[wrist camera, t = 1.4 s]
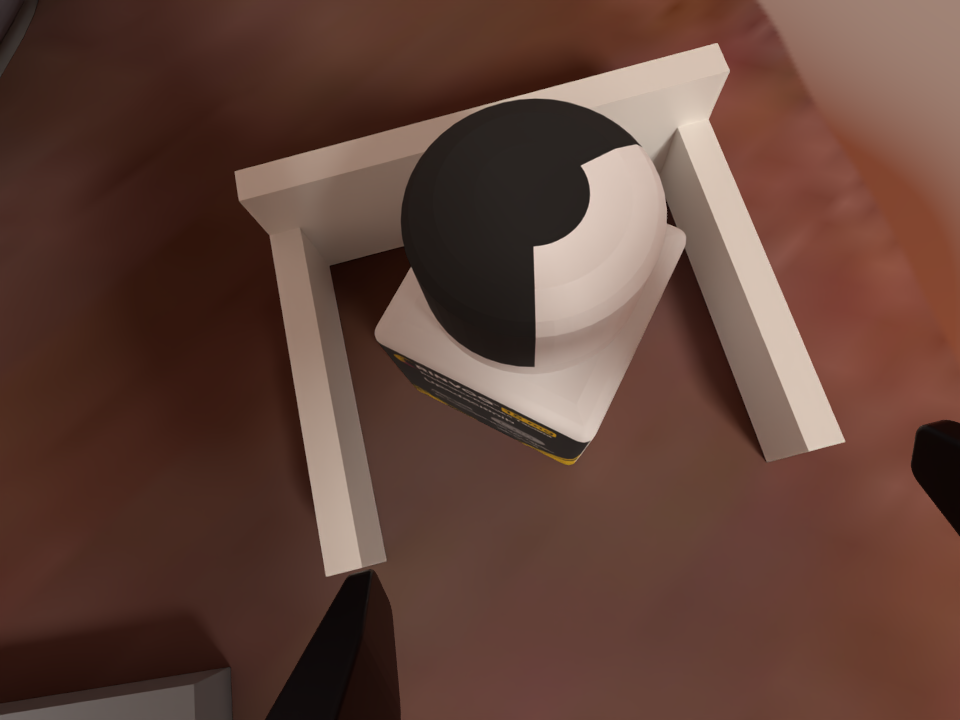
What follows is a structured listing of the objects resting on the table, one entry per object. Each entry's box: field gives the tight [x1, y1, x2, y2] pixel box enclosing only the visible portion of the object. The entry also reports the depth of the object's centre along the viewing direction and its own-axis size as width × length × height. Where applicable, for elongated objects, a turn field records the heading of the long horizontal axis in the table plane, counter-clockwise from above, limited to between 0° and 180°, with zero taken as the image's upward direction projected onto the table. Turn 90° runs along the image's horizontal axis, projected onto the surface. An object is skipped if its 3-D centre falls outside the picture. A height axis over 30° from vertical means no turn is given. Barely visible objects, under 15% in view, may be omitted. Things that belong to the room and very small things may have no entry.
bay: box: [234, 43, 845, 577], centre depth 22 cm, size 14×17×6 cm
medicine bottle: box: [375, 98, 686, 465], centre depth 19 cm, size 7×7×12 cm
